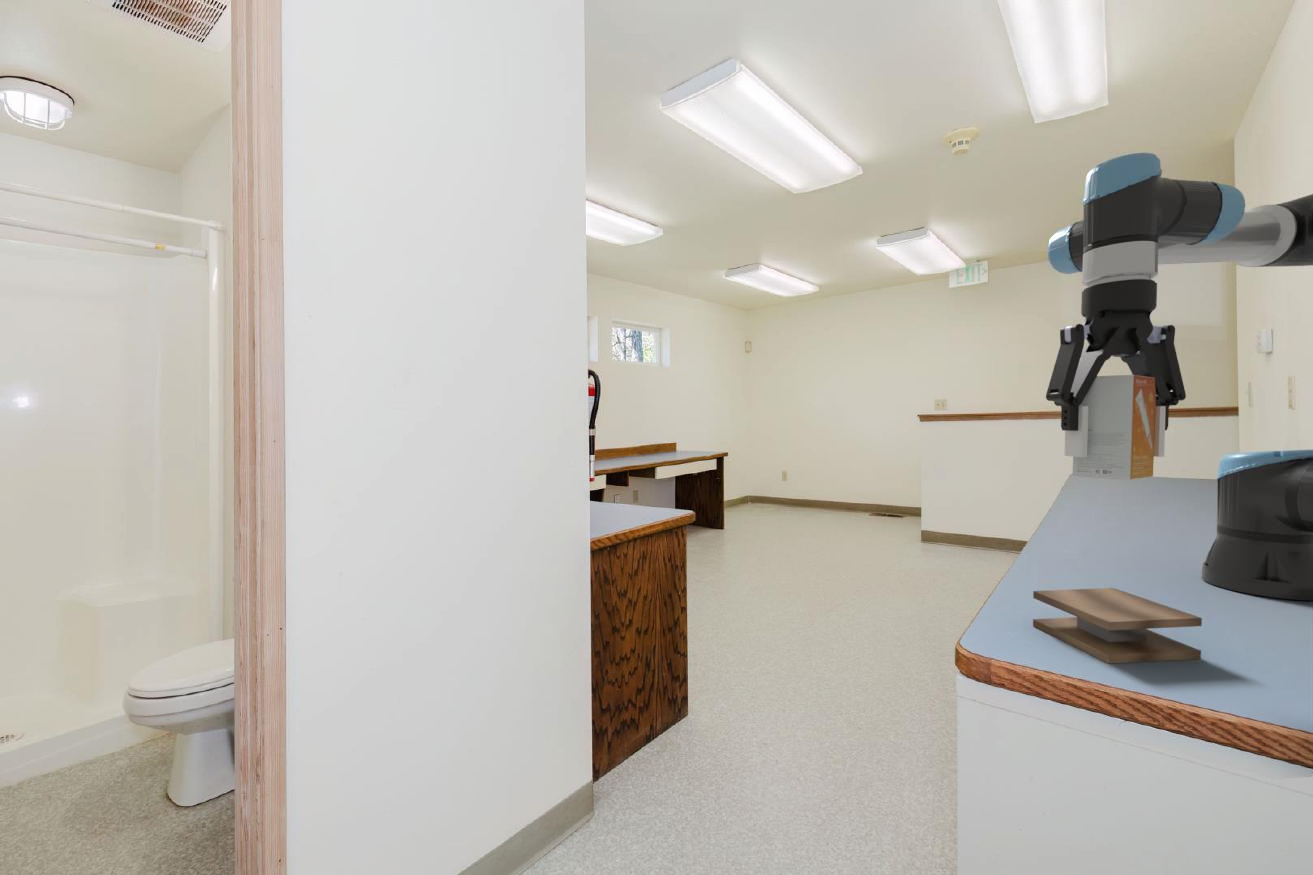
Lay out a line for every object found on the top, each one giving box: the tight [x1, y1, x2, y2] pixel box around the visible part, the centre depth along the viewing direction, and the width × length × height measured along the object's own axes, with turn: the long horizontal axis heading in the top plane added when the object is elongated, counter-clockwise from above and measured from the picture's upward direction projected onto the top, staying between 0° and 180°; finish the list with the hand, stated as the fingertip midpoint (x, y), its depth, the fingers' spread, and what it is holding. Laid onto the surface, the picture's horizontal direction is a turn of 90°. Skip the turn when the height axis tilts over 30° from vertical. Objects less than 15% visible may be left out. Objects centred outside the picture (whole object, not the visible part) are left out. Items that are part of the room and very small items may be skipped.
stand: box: [1032, 587, 1203, 664], centre depth 73 cm, size 12×12×5 cm
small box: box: [1072, 374, 1157, 481], centre depth 73 cm, size 8×6×13 cm
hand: (1113, 456), depth 73 cm, fingers closed on small box, 10 cm apart
